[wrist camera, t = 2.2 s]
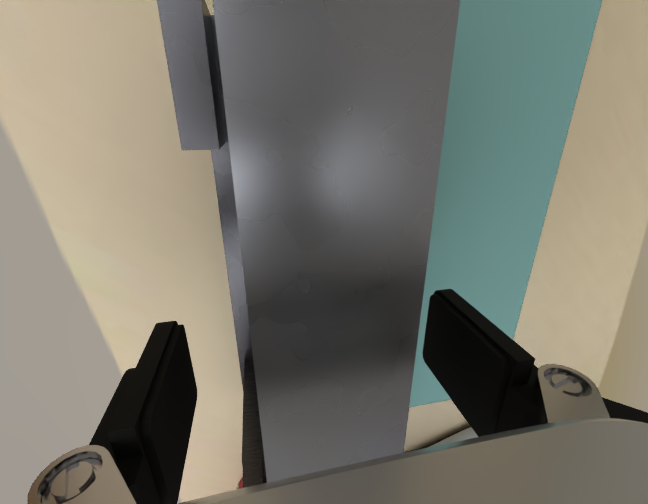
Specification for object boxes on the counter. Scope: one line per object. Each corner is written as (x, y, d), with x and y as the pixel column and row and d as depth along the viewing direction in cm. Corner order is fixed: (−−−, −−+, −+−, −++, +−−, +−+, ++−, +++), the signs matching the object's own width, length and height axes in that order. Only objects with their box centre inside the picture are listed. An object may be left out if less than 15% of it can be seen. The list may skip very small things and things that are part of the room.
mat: (431, -23, 15) (438, -29, 14) (594, -10, 16) (605, -14, 16) (390, 403, 25) (393, 410, 24) (494, 384, 26) (499, 390, 26)
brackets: (198, 46, 14) (127, -54, 6) (355, 51, 15) (475, -24, 7) (244, 397, 22) (242, 566, 13) (346, 380, 23) (400, 525, 15)
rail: (217, -62, 8) (186, -231, 4) (380, -47, 8) (482, -176, 5) (276, 518, 16) (284, 636, 12) (354, 500, 17) (383, 605, 13)
